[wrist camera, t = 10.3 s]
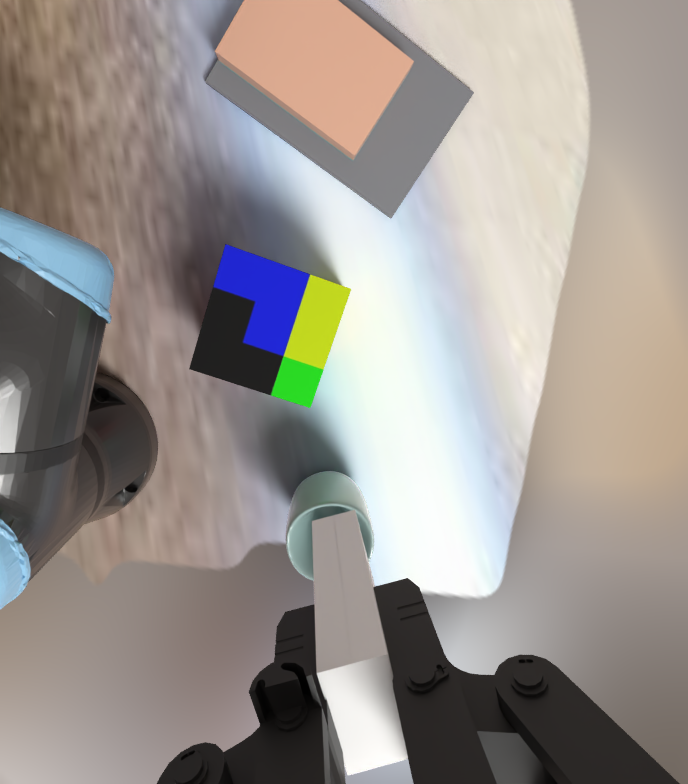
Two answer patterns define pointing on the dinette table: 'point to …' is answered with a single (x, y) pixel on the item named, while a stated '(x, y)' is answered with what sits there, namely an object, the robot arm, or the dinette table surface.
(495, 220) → the dinette table surface
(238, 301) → the puzzle toy
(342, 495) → the cup
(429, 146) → the mat
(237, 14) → the tile
